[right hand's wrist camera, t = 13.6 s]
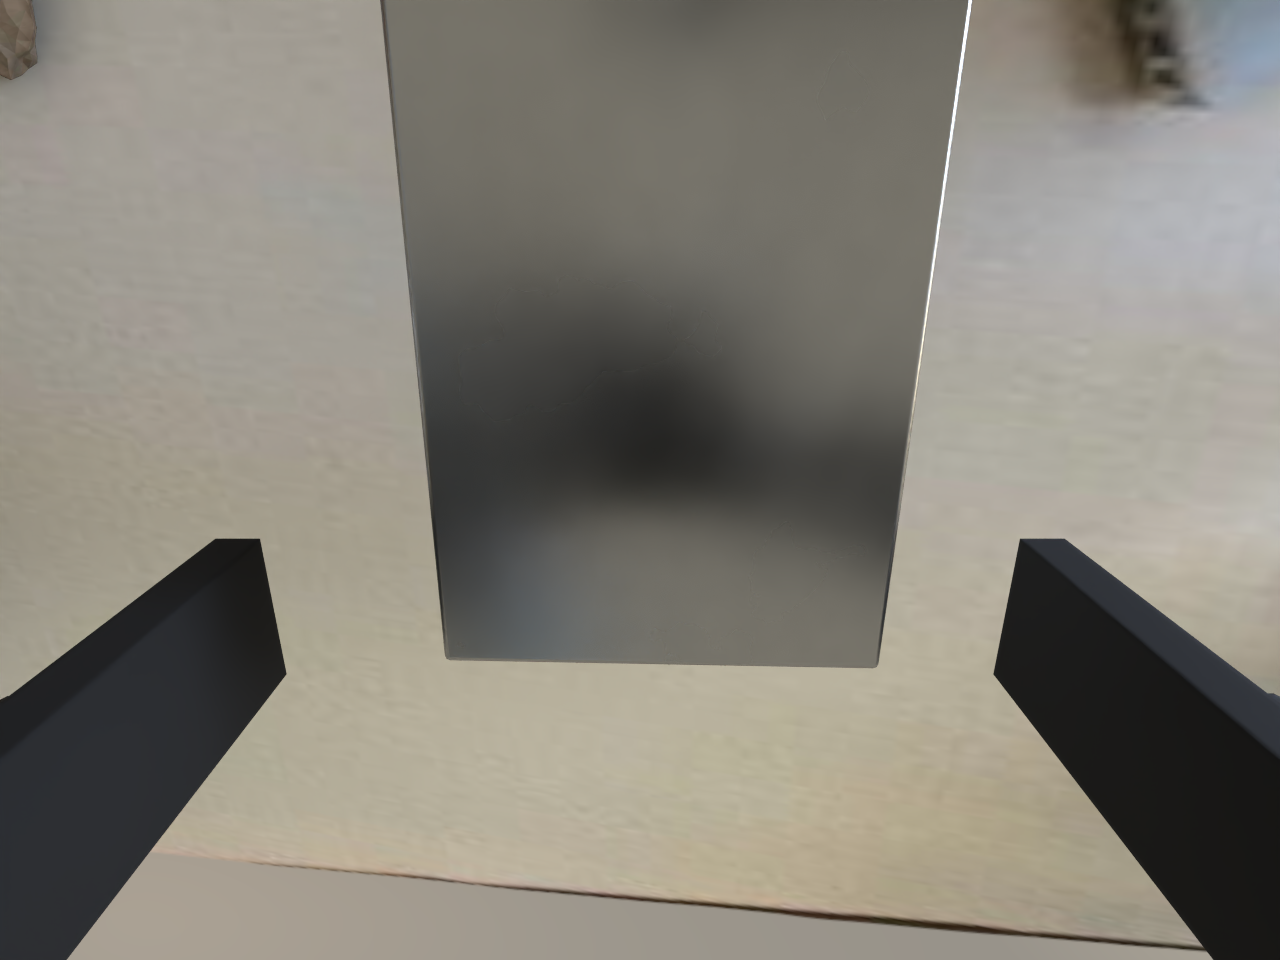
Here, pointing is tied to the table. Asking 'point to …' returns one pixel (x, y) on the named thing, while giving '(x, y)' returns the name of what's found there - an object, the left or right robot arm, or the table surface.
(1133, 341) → the table surface
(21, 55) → the stone
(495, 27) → the box
